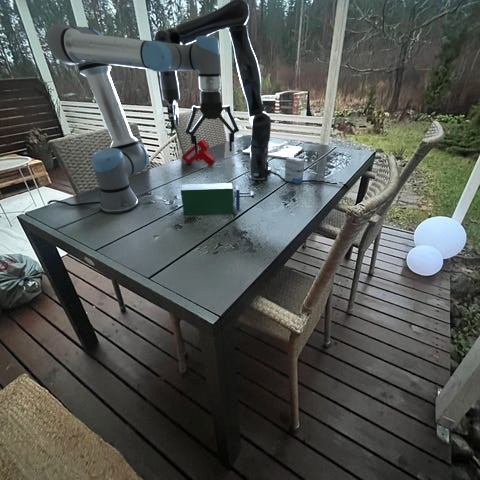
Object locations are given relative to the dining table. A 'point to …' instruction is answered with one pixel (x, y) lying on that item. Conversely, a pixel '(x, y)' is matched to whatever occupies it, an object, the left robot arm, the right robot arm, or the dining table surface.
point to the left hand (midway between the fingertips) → (213, 151)
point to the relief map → (280, 150)
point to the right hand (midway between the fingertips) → (175, 127)
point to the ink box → (294, 170)
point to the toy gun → (199, 154)
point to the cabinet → (207, 198)
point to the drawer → (242, 196)
